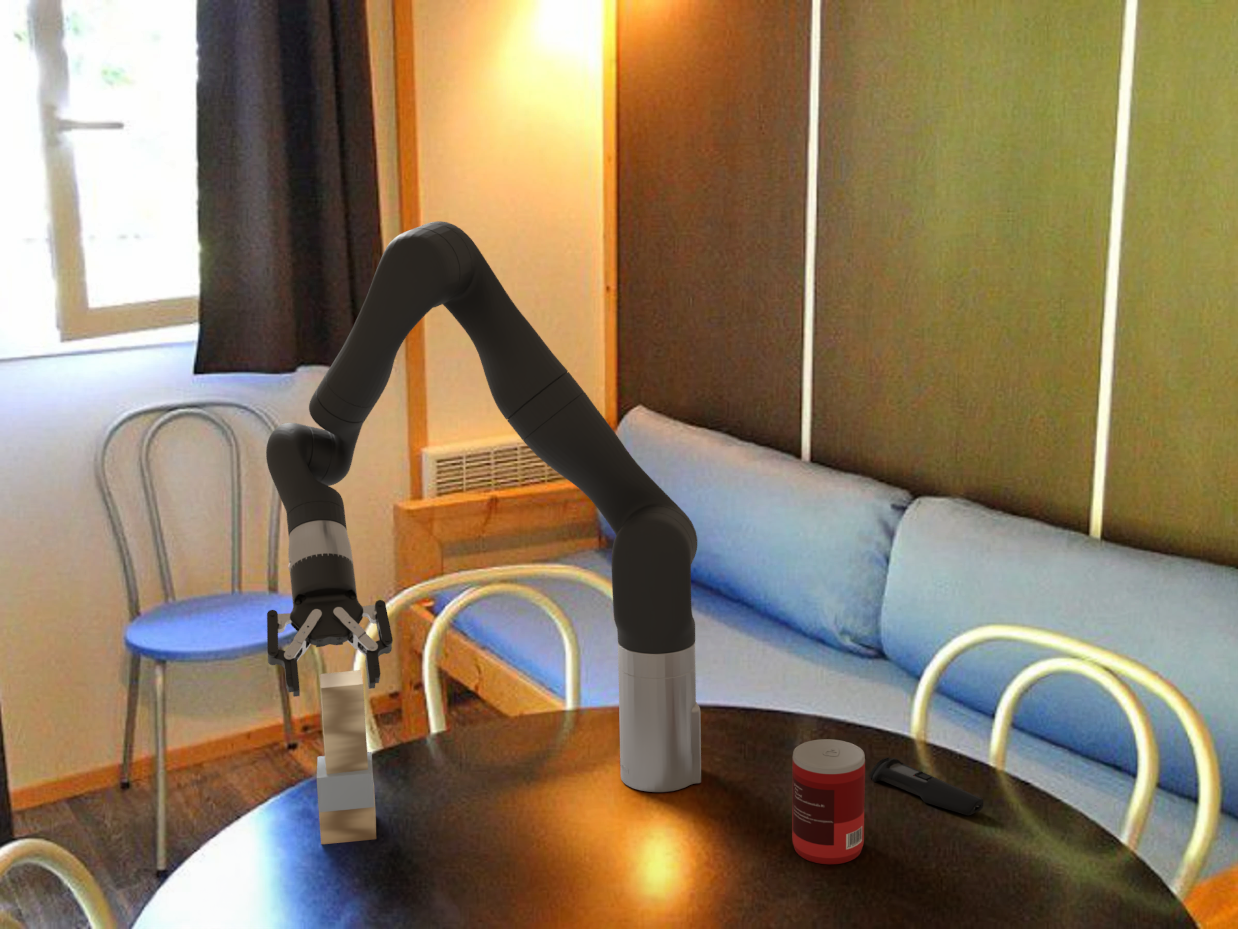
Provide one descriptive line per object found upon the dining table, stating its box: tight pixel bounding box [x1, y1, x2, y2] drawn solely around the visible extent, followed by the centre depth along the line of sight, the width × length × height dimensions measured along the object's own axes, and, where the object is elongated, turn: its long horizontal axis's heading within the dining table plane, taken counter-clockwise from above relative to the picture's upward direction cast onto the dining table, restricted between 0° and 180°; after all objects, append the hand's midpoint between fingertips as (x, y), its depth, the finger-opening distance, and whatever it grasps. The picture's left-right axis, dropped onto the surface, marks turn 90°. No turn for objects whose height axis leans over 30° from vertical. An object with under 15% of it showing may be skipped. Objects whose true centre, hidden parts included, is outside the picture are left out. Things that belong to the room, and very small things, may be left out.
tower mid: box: [316, 751, 375, 813], centre depth 159 cm, size 6×6×4 cm
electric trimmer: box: [869, 756, 984, 816], centre depth 165 cm, size 4×16×3 cm, turn 36°
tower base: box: [318, 783, 377, 845], centre depth 160 cm, size 6×6×4 cm
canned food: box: [791, 738, 866, 865], centre depth 152 cm, size 8×8×11 cm
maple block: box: [319, 669, 368, 774], centre depth 157 cm, size 4×4×10 cm
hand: (334, 689), depth 163 cm, fingers open, 8 cm apart
